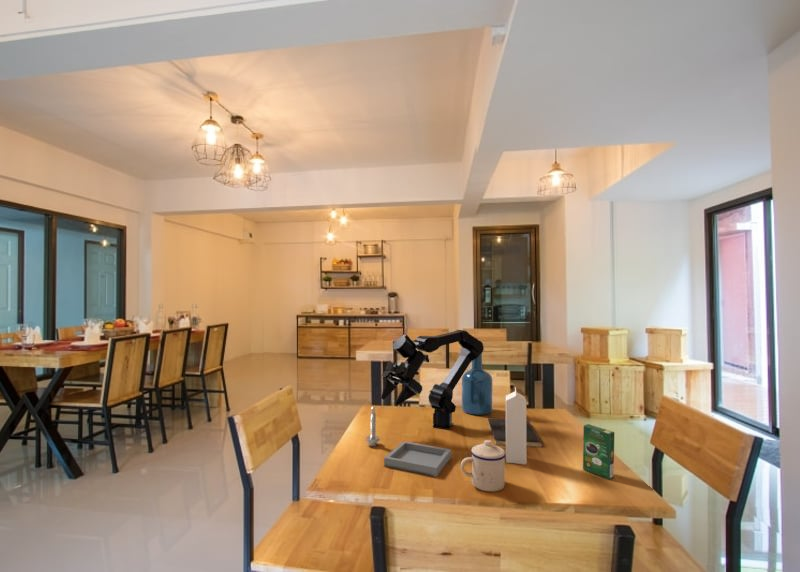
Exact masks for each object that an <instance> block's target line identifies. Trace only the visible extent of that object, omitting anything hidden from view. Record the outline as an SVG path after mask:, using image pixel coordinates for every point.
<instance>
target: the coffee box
mask: <svg viewBox="0 0 800 572" xmlns="http://www.w3.org/2000/svg"><path fill="white" fill-rule="evenodd" d="M582 435H583V441H582V442H583V443H582V444H583V445H582V446H583V447H582V448H583V449H582V452H583V453H582V470H584V471H586V472H589V473H592V474H594V475H596V476H599V477H601V478H602V479H603V478H604V479H607V480H609V481H611V479H614V475H615V471H614V470H615V467H614V466H615V432H614V431H612V430H608V429H606V428H601V427H599V426H596V425H592V424H590V423H586V424H584V425H583V434H582Z"/></svg>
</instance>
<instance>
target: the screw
mask: <svg viewBox="0 0 800 572" xmlns="http://www.w3.org/2000/svg"><path fill="white" fill-rule="evenodd" d="M376 417H377V416H376V409H375V407H374V406H372V407H371V411H370V428H369V429H370V435H368V436H367V437H366V438H365V441H367V443H368V445H369V446H370V447H375V446H377V445H378V442H379V441H380V440H381V438H380V437H379V435H377V433H376V425H377V421H376Z"/></svg>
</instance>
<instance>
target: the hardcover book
mask: <svg viewBox="0 0 800 572" xmlns="http://www.w3.org/2000/svg"><path fill="white" fill-rule="evenodd" d="M487 421H488V424H489V428H490V431H491V434H492V437H493V440H494V445H500V446H501V445H502V446H503V445H504V446H506V418H496V417H495V418H493V417H491V418H490V417H488V418H487ZM526 447H539V448H541V447H542V448H543V447H544V444H543V441H542V439H541V438H540V436H539V435H538V434H537V432H536V430H535V428H534V427H533V425H532V424H531V422H530V421H529V420H528V419H526Z"/></svg>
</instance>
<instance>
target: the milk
mask: <svg viewBox="0 0 800 572" xmlns="http://www.w3.org/2000/svg"><path fill="white" fill-rule="evenodd" d="M505 419H506V445H505V463H506V464H507V463H509V464H517V465H518V464H519V465H525V466H526V465H527V446H526V420H527V400H526V397H525V395H522V394H521V393H518V391H517V388H516V386H515V387H514V391H512V392H511V393H509V394H506V395H505Z"/></svg>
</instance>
